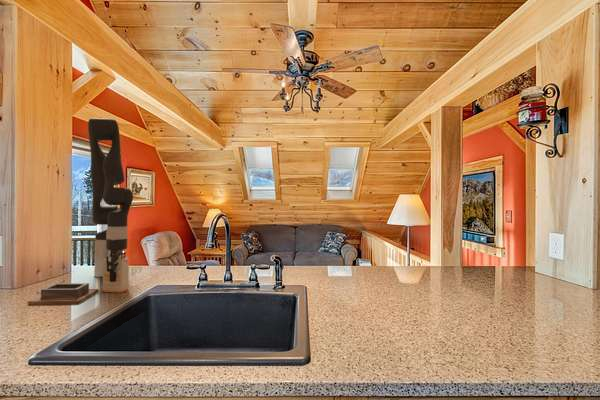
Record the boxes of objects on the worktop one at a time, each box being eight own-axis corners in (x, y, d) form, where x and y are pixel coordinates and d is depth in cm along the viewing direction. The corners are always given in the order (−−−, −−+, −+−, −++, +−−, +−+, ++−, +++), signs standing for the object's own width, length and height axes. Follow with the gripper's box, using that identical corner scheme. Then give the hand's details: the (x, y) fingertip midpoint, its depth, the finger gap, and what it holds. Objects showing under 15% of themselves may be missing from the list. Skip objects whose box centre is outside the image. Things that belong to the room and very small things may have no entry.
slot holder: (54, 292, 134) (54, 281, 134) (98, 291, 137) (98, 281, 137) (27, 304, 119) (28, 292, 119) (78, 304, 121) (78, 292, 121)
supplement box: (128, 290, 140) (129, 257, 140) (121, 293, 136) (122, 259, 136) (109, 288, 141) (110, 256, 141) (101, 292, 136) (102, 258, 136)
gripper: (114, 235, 145) (112, 276, 145) (99, 239, 131) (97, 284, 131) (133, 235, 146) (131, 275, 146) (120, 239, 132) (118, 284, 132)
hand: (115, 279), depth 138 cm, fingers closed on supplement box, 5 cm apart
